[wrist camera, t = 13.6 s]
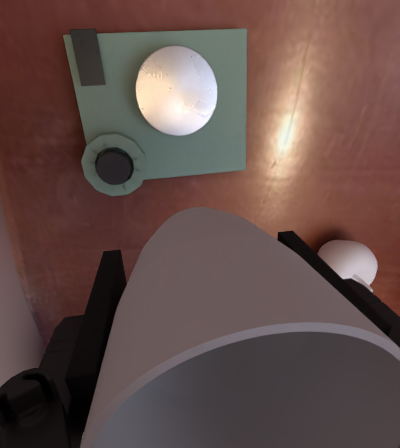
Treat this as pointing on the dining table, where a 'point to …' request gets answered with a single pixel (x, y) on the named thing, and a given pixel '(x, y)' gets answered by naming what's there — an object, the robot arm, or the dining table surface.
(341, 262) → the plain white apple
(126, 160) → the button
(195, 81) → the pan
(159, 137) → the scale
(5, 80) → the dining table surface
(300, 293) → the cup
